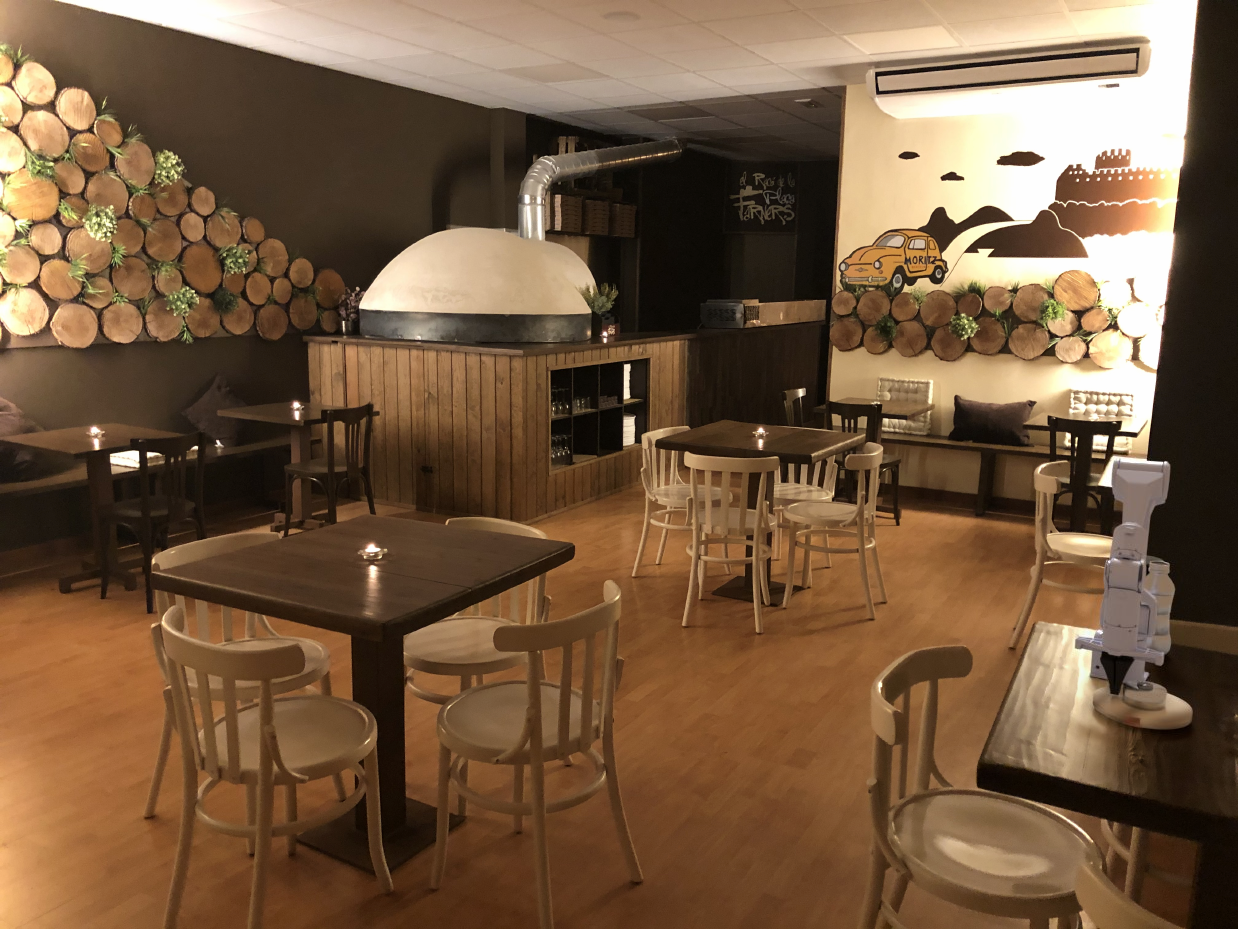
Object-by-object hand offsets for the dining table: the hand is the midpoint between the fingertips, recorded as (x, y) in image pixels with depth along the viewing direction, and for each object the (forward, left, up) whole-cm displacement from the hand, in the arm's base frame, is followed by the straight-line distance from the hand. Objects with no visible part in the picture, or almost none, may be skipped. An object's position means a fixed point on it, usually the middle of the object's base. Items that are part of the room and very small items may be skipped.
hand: (1115, 692), depth 180 cm
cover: (+5, 0, -1) cm, 5 cm away
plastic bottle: (0, +36, -3) cm, 36 cm away
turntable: (+5, 0, -3) cm, 6 cm away
